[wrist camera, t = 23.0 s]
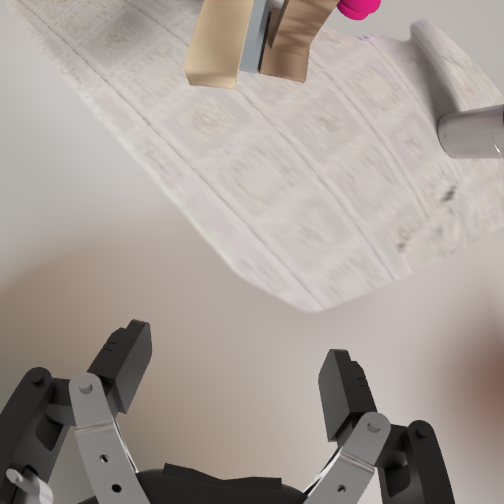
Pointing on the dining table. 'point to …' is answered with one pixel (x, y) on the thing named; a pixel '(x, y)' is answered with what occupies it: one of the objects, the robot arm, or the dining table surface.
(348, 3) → the pepper mill
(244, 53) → the low stand
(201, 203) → the dining table surface
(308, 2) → the tall stand
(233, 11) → the teal-dotted wooden beam
